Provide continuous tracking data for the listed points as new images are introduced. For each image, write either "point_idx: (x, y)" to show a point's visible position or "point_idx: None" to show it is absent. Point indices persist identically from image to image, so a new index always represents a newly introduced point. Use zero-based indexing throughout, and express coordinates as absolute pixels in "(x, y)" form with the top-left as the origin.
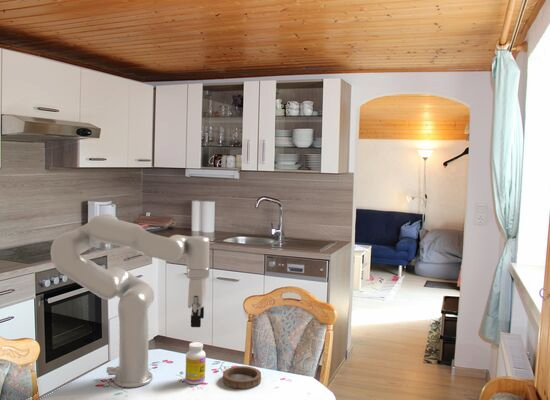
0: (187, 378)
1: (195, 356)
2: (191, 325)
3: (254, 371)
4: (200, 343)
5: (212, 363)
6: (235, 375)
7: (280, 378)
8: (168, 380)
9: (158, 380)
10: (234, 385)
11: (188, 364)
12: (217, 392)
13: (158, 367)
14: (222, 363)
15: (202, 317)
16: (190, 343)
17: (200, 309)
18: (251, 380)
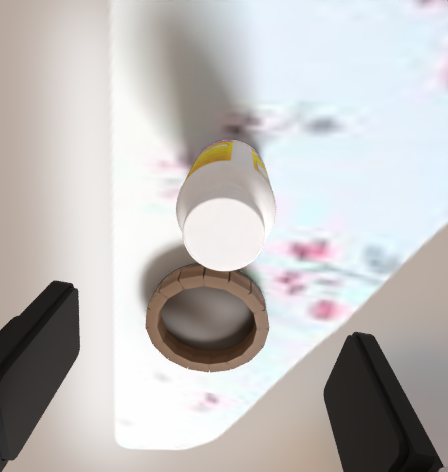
0: (206, 148)
1: (177, 210)
2: (48, 292)
3: (228, 358)
4: (236, 260)
5: (376, 248)
6: (239, 303)
7: (213, 394)
8: (252, 64)
9: (260, 14)
10: (155, 292)
11: (195, 165)
12: (133, 238)
13: (416, 9)
14: (363, 279)
15: (326, 394)
16: (243, 205)
17: (361, 469)
18: (153, 342)
